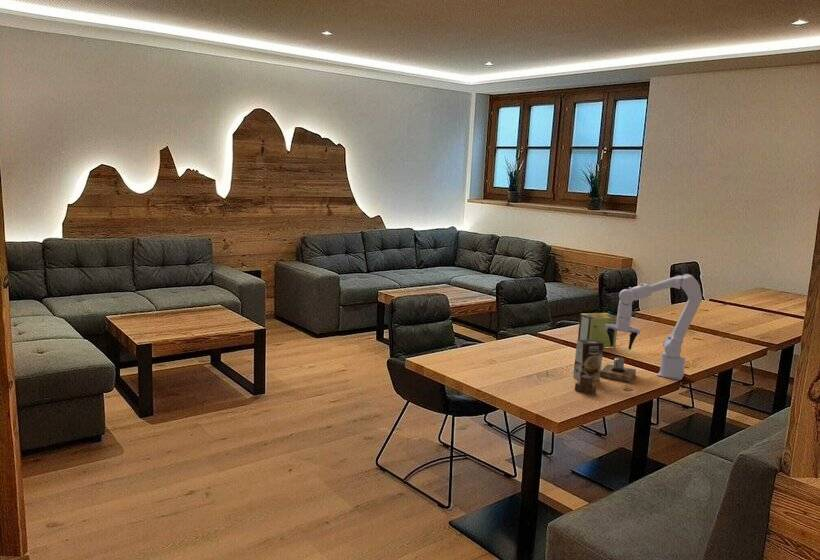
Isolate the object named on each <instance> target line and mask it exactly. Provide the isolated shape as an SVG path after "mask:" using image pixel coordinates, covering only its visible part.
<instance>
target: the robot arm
mask: <svg viewBox="0 0 820 560" xmlns="http://www.w3.org/2000/svg"><path fill="white" fill-rule="evenodd" d="M671 288H674V289H677V290H680V289H682V290H683V291H684V292H685V295H687V301H686V303H685V305H684V307H683V310H682V311H681V314H680V316H679V317H678V320H677V322H676V324H675V326H674V328H673V330H672V332H671V333H670V334H669V336H668V337H667V338H665V340H663V343H662V347H663V349H664V351H663V352H662V353H661V359H660V360H661V361H660V369H659V371H658V373H657V376H658V377H664V378H667V379H672V380H673V379H674V380H679V381H681V380H682V379H683V377H684V376H685V375H684V374H685V367H686V365H685V364H686V358H685V357H682V356H681V352H682V345H683V342H684V337H685V336H686V334H687V331H688V330H689V327H690V325H691V323H692V321H693V319H694V317H695V315H696V314H697V311H698V309H699V307H700V304H701V303H702V301H703V295H702V291H701V285H700V284H699V281H698V280H697V279H696V278H695V277H694V276H693V274H691V273H690V274H689V273H684V274H682V275H681V274H680V275H679V274H678V275H675V276H673V277H670V278H667V279H664V280H661V281H658V282H655V283H652V284H648V283H643V282H640V283H639V285H637V286H633V287H631V286H629V287H628V288H624V289H622V290H620V291H619V294H618V298H619V301H618V306H617V315H616V317H617V322H616V325H613V324H606V325H605V329H608V330H607V333H608V336H609V339H610V346H613V343H614V333H615V330H617V332H618V331H620V332H624V333H630V334H629V344H628V350H629V351H630V350H632V346H633V343H634V342H635V339H636V338H637V336H638V335H641V332H642V331H641V328H636V327H631V322H632V311H633V307H632V306H633V302H634V301H638V300H642V299H645V298H649V297H651V296H652V294H653V293H654V292H660V291H664V290H667V289H671Z"/></svg>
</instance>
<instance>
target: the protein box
mask: <svg viewBox="0 0 820 560" xmlns="http://www.w3.org/2000/svg"><path fill="white" fill-rule="evenodd" d="M616 322H617V316H615V315H613V314H610V313H609V312H592V313H591V312H590V313H586V312H585V313H580V314H579V324H578V335H577V340H597V341H600V342H602V343H604V345H603V348H605V347H615V348H616V345H617V343H616V342H617V335H618V330H615V333H614V343H613V346H610V339H609V336H608V333H607V330H608V329H605V325H606V324H613V325H616ZM605 349H606V348H605Z"/></svg>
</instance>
